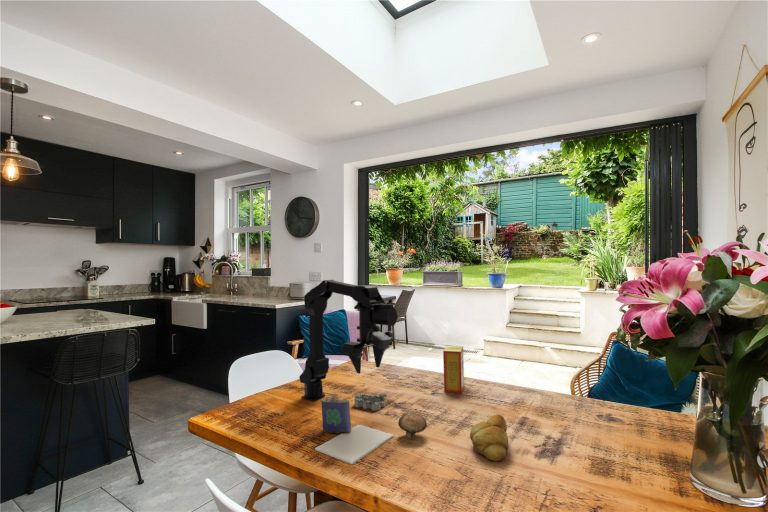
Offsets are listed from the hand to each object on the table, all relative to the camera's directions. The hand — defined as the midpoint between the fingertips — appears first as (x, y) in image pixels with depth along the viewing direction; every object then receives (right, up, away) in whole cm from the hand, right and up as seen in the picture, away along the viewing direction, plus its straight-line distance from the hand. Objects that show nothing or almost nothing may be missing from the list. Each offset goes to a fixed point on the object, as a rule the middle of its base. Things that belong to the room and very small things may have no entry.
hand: (368, 370), depth 124 cm
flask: (-9, -14, -14) cm, 22 cm away
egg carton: (0, -15, +7) cm, 16 cm away
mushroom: (+13, -14, -18) cm, 26 cm away
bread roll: (+33, -13, -27) cm, 44 cm away
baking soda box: (+33, -14, +22) cm, 42 cm away
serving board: (-3, -14, -21) cm, 25 cm away
